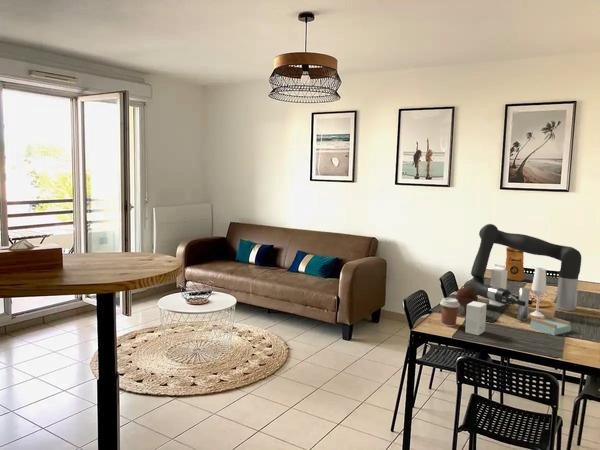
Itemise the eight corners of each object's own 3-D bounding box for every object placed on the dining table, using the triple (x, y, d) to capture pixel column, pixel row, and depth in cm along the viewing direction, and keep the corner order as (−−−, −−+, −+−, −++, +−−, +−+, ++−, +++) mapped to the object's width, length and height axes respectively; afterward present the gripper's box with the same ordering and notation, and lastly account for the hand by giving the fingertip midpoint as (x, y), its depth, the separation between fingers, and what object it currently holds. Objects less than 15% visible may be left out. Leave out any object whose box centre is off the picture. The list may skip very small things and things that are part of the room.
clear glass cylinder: (521, 316, 241) (523, 287, 239) (529, 318, 237) (531, 289, 235) (515, 317, 239) (517, 288, 237) (523, 320, 235) (525, 290, 233)
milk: (499, 306, 262) (501, 266, 259) (488, 303, 267) (491, 264, 264) (505, 304, 266) (508, 265, 263) (495, 302, 270) (497, 263, 268)
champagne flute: (538, 317, 244) (542, 270, 241) (526, 313, 250) (530, 267, 247) (547, 315, 247) (550, 269, 244) (535, 311, 253) (539, 266, 250)
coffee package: (523, 282, 321) (525, 249, 318) (502, 280, 327) (505, 247, 324) (524, 279, 329) (526, 247, 327) (504, 277, 335) (506, 245, 333)
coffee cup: (455, 328, 223) (457, 303, 222) (436, 325, 228) (437, 300, 227) (460, 323, 231) (462, 299, 229) (441, 320, 236) (443, 296, 234)
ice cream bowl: (476, 312, 249) (478, 284, 248) (476, 318, 239) (478, 289, 237) (454, 310, 253) (456, 282, 251) (454, 316, 242) (456, 287, 241)
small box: (471, 328, 225) (473, 300, 223) (485, 331, 221) (487, 303, 219) (464, 332, 218) (466, 304, 217) (478, 335, 214) (480, 307, 213)
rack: (546, 323, 233) (547, 314, 233) (570, 331, 223) (571, 322, 222) (530, 327, 227) (530, 318, 227) (554, 335, 217) (554, 325, 216)
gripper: (489, 289, 246) (519, 297, 231) (508, 286, 252) (538, 294, 238) (489, 303, 246) (518, 312, 232) (507, 300, 253) (537, 309, 238)
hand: (528, 303), depth 235 cm, fingers closed on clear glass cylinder, 4 cm apart
